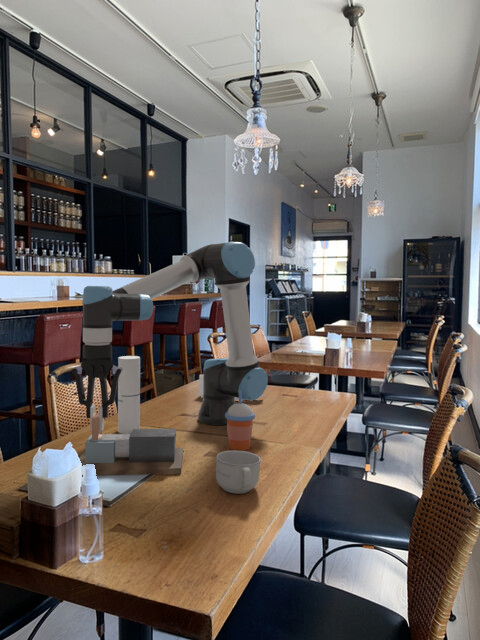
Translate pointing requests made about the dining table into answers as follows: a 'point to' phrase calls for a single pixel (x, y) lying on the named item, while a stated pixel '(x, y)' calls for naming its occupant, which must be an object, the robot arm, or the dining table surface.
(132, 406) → the cylindrical container
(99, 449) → the socket block
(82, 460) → the walnut base board
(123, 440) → the grey block with peg
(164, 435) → the outer sleeve
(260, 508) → the dining table surface
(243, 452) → the teacup
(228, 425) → the cup with straw
